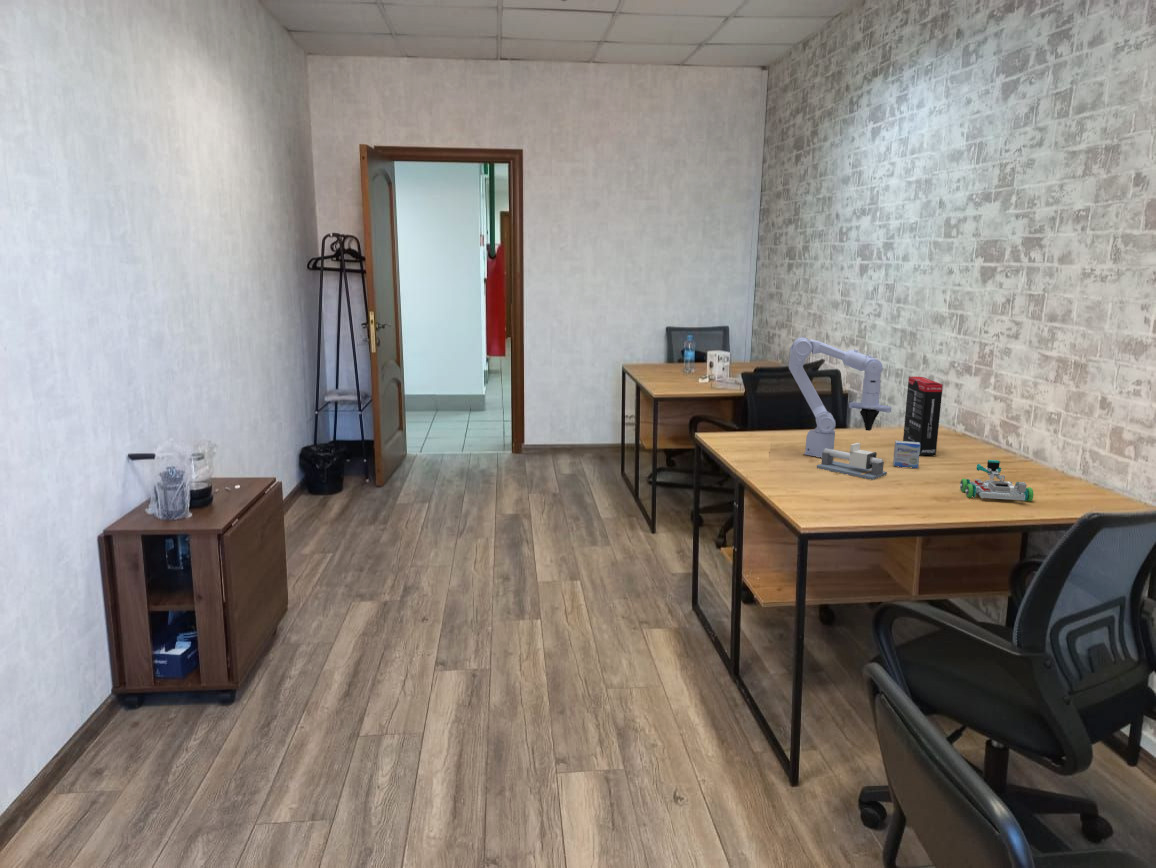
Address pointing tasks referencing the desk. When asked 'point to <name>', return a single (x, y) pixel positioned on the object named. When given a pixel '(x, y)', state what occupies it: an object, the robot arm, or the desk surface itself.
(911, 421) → the graphics card box
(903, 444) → the medicine box
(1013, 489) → the robot kit
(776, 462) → the desk surface
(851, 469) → the pipe stand
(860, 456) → the sleeve
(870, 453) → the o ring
